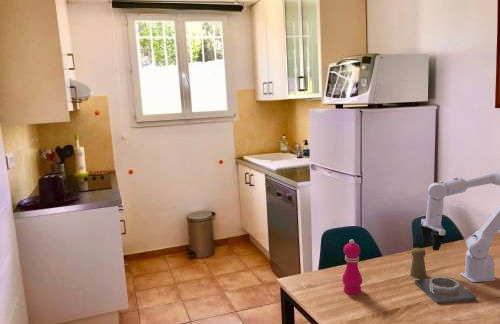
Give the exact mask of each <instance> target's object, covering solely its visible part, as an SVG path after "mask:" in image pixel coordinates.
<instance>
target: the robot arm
mask: <svg viewBox="0 0 500 324" xmlns="http://www.w3.org/2000/svg"><path fill="white" fill-rule="evenodd" d="M489 184H492V185H496V186H499V187H500V169H499V170H495V171H491V172H490V171H489V172H487V173H484V174H479V175H476V176H473V177H470V178H466V179H463V178H462V177H457V176H454V177H452V179H448V180H445V181H443V180H440V181H439V182H432V183H430V184H429V185H428V188H427V193H428V197H427V202H426V213H425V218H421V220H420V224H418V228H419V231H420V234H421V238H422V243H423V244H429V242H430V239H431V240H432V241H431V242H432V244H431V245H432V247H431V248H432V251H439V250H440V248H441V247H442V243H443V241H444V240H445V239H446V238H447V236H448V235H447V233H446V230H445V229H444V227H443V226H442V219H443V210H444V199H445V197H449V196H455V195H457V194H463V193H465V192H466V191H467V190H468V189H469V188H475V187H479V186H484V185H485V186H486V185H489ZM497 206H498V207H496V208H495V210H494V211H493V213H492V214H491V215H490V216H489V218H488V219H487V220H486V221H485V222H484V224H483V225H482V226H481V228H480V229H478V230H476V231H474V233H473V234H472V235H469V236H468V237H466V239H465V242H464V245H465V247H466V248H467V250H466V252H465V263H464V266H465V267H464V268H465V269H464V272H460V273H459V274H460V275H461V276H463V277H464V278H465V279H466V280H468V281H469V282H471V283H479V282H481V283H482V282H493V281H496V278H495V265H496V264H495V261H494V258H493V257H492V256H491V255H490V254H489V250H490V248H491V247H492V245H493V239H494V238H495V236H497V234H498V233H499V232H500V204H499V205H497ZM433 231H434V232H433Z"/></svg>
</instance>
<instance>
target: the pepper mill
mask: <svg viewBox="0 0 500 324" xmlns="http://www.w3.org/2000/svg"><path fill="white" fill-rule="evenodd" d="M343 254H344V255H345V256H344V261H346V262H345V263H346V266H345V267H346V268H345V270H344V272H343V275H342V280H341V281H342V283H343V292H344V293H345V294H348V295H351V296H352V295H353V296H355V295H356V296H357V295H359V294H361V293H362V287H361V285H362V284H363V277H362V274H361V271H360V269H359V267H358V266H359V264H358V262H359V261H360V254H361V248H360V245H359V244H357V243H356V242H355V240H354V239H352V238H351V239H349V242H348V243H347V244H345V245H344V246H343Z"/></svg>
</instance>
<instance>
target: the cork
mask: <svg viewBox="0 0 500 324" xmlns="http://www.w3.org/2000/svg"><path fill="white" fill-rule="evenodd" d="M426 254H427V253H426V250H425V249H424V248H420V247H414V248H412V249H411V256H412V260H411V267H410V273H409V275H410V276H411V277H412V278H415V279H426V278H427V271H426V263H425V257H426Z"/></svg>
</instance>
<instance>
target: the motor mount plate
mask: <svg viewBox="0 0 500 324" xmlns="http://www.w3.org/2000/svg"><path fill="white" fill-rule="evenodd" d="M414 285H415V286H416V287H418V288H419V289H420V290H421V291H422V292H424V294H425V295H427V296H428V297H429V298H430V299H431V300H432V301H434V302H435V303H436V305H441V304H451V303H463V302H474V301H477V296H476V295H475V294H474V293H472V292H471V291H469V289H467V288H465V287H464V286H462V284H460V282H458V281H457V280H455V279H453V278H452V277H450V276H449V277H444V276H436V277H434V276H433V277H431V278H419V279H414Z"/></svg>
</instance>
